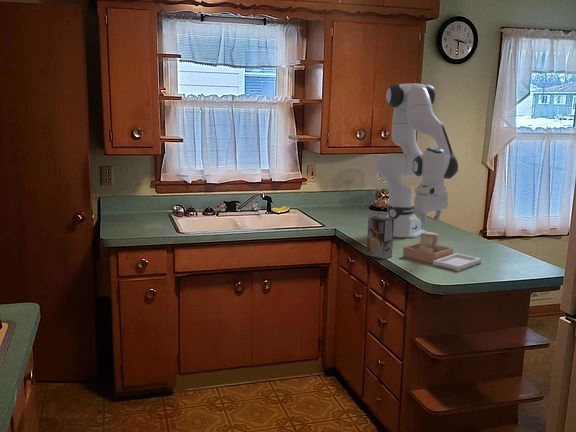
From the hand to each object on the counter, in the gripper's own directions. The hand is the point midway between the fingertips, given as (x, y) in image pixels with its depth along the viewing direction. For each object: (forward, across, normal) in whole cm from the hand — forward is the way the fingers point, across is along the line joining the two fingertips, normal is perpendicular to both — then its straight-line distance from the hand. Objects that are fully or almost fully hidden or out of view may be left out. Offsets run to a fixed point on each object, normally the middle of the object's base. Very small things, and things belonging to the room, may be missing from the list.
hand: (430, 221), depth 243 cm
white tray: (+15, +1, +14) cm, 20 cm away
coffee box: (+15, +14, -15) cm, 25 cm away
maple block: (+15, 0, 0) cm, 15 cm away
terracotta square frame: (+15, 0, 0) cm, 15 cm away
